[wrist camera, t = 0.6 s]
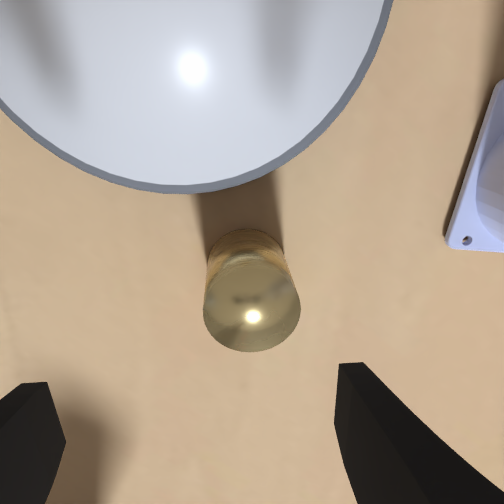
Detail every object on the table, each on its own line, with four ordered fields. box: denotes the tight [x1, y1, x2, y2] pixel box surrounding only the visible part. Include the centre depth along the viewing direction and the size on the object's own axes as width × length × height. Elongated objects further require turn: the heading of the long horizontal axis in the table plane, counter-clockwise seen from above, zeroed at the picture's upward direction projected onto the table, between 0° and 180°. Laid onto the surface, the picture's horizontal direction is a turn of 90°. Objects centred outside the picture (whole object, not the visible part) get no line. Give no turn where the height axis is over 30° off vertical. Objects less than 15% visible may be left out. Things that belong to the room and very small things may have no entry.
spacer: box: [203, 229, 301, 352], centre depth 17 cm, size 4×4×4 cm
